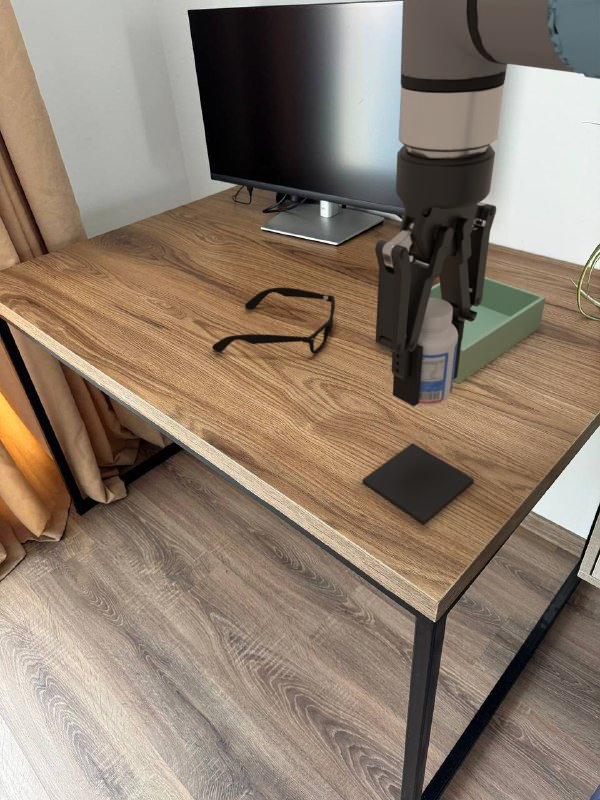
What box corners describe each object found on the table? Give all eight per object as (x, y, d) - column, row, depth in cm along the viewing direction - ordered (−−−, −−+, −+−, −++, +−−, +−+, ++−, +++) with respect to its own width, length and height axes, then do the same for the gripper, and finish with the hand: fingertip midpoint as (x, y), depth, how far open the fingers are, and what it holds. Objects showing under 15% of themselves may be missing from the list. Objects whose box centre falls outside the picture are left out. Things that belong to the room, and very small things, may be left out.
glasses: (316, 371, 89) (317, 343, 86) (209, 354, 93) (206, 326, 90) (342, 318, 101) (343, 292, 98) (247, 305, 106) (245, 280, 103)
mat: (473, 482, 67) (474, 479, 67) (423, 525, 63) (424, 521, 62) (412, 446, 73) (412, 442, 73) (362, 483, 68) (362, 479, 68)
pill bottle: (419, 370, 63) (425, 288, 57) (462, 389, 60) (473, 304, 54) (387, 393, 60) (390, 308, 54) (430, 414, 57) (438, 327, 51)
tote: (539, 328, 94) (546, 296, 90) (459, 383, 83) (463, 350, 80) (460, 298, 103) (463, 269, 100) (378, 345, 92) (379, 314, 89)
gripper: (475, 116, 53) (450, 338, 67) (327, 164, 43) (334, 410, 57) (553, 127, 48) (509, 363, 62) (406, 183, 39) (393, 446, 53)
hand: (425, 385), depth 60 cm, fingers closed on pill bottle, 5 cm apart
